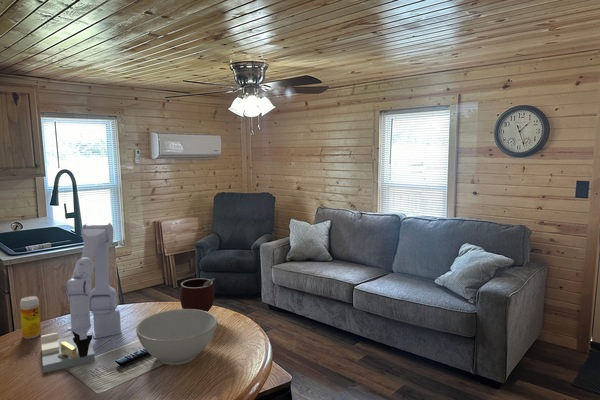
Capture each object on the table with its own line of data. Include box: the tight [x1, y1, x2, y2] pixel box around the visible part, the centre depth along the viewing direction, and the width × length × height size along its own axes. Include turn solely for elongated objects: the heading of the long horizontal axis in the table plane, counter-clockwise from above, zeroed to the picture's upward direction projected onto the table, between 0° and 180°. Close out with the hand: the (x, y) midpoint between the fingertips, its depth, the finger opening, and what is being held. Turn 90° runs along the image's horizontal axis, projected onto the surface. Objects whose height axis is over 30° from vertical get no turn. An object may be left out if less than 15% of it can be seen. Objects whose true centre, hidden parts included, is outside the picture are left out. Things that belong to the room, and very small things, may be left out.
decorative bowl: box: [135, 308, 218, 366], centre depth 145 cm, size 27×27×12 cm
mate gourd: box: [179, 277, 216, 312], centre depth 173 cm, size 16×14×20 cm
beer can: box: [19, 295, 42, 340], centre depth 160 cm, size 6×6×15 cm
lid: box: [40, 332, 59, 356], centre depth 145 cm, size 5×8×4 cm, turn 33°
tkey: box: [61, 341, 77, 359], centre depth 138 cm, size 8×2×4 cm, turn 53°
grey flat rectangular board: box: [41, 332, 96, 374], centre depth 146 cm, size 15×19×3 cm
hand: (82, 351), depth 141 cm, fingers open, 7 cm apart
